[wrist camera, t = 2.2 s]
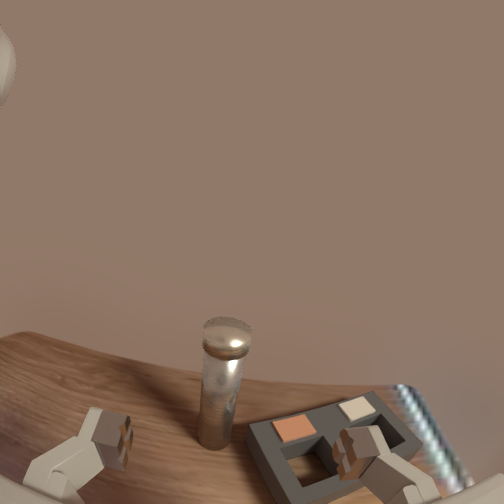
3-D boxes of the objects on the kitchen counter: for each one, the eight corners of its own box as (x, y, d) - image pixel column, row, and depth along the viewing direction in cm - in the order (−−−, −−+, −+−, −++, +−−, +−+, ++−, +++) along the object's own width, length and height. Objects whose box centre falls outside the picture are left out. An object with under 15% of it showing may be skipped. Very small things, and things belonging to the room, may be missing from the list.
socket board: (285, 519, 18) (294, 506, 17) (244, 440, 27) (249, 422, 26) (410, 459, 25) (425, 442, 24) (364, 407, 33) (373, 388, 32)
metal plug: (201, 454, 25) (210, 346, 20) (192, 427, 28) (198, 317, 23) (236, 448, 26) (259, 341, 21) (225, 423, 29) (242, 315, 25)
